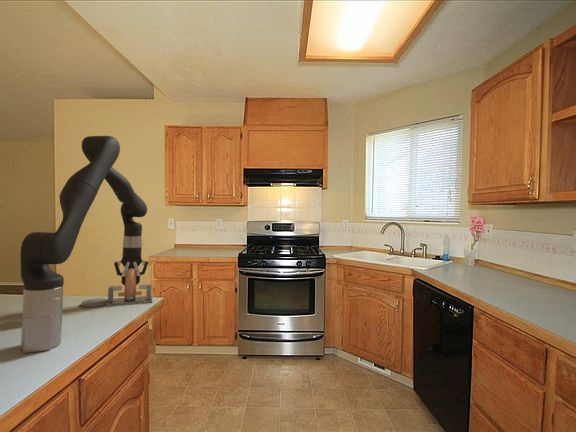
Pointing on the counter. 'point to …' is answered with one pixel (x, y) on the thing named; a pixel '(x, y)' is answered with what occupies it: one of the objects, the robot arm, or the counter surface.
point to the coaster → (94, 303)
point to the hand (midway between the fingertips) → (130, 284)
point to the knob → (130, 284)
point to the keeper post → (126, 299)
